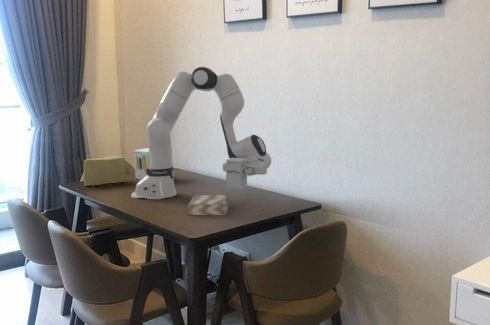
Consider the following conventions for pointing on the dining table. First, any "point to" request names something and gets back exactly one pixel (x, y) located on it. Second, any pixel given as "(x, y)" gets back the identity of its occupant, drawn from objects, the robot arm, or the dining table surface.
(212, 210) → the block
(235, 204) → the dining table surface
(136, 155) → the supplement box
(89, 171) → the cheese
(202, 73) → the robot arm
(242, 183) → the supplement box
